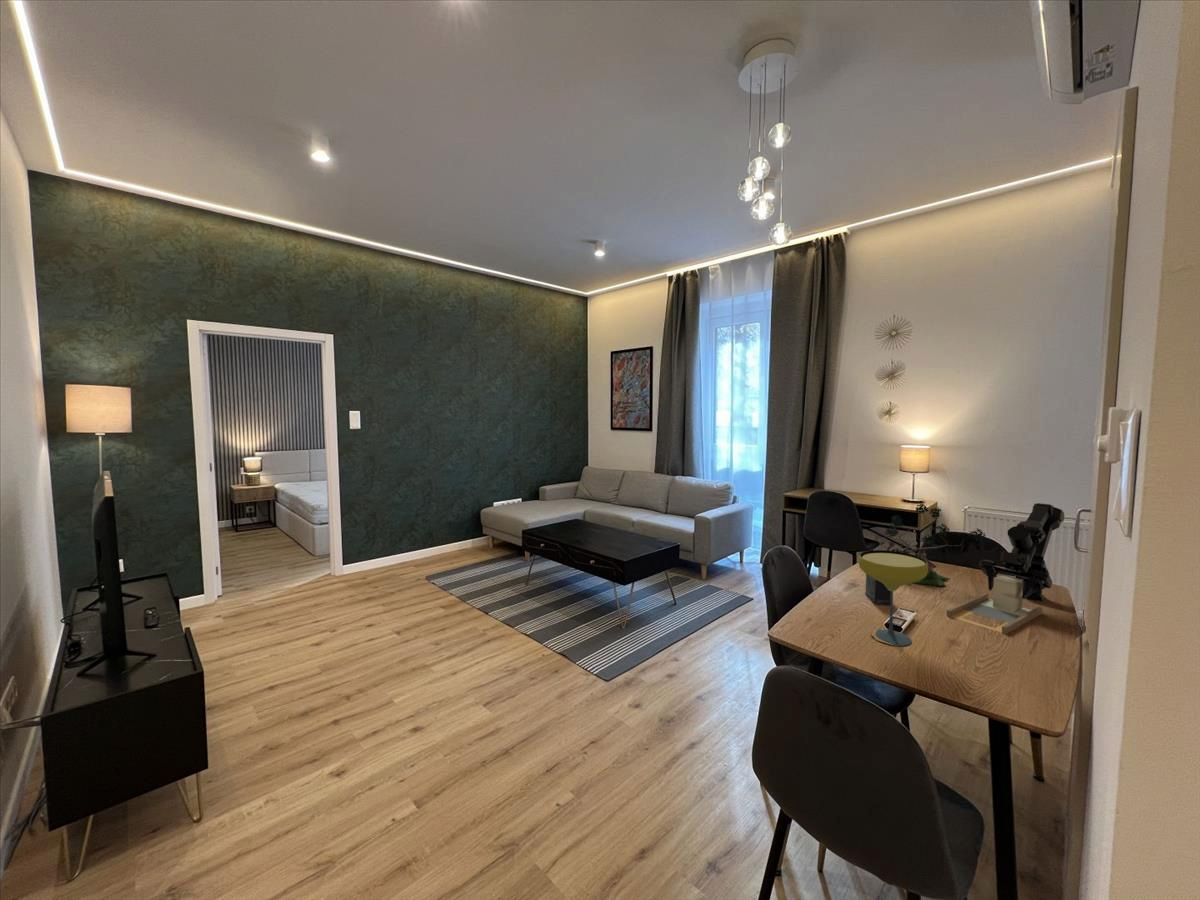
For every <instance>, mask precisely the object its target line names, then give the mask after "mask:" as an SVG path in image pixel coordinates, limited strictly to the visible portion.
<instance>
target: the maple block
mask: <svg viewBox="0 0 1200 900" xmlns="http://www.w3.org/2000/svg"><path fill="white" fill-rule="evenodd" d="M992 590H993V591H992V592H993V593H992V600H993V607H995V608H999V609H1003V610H1006V611H1010V612H1014V613H1015V612H1017V611H1019V610H1020V609H1022V608H1023V600H1024V599H1023V598H1022V595H1023V579H1018V578H1016V577H1015V576H1008V575H1004V574H1000V575H998V576H997V577H995V578H994V585H993V588H992Z"/></svg>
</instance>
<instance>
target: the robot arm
mask: <svg viewBox="0 0 1200 900" xmlns="http://www.w3.org/2000/svg"><path fill="white" fill-rule="evenodd" d="M1064 521H1065V512H1064V510H1062V509H1061V508H1058V507H1055V506H1054V505H1052V504H1050V503H1049V504H1048V503H1039V502H1037V503H1034V504H1033V506H1032V510H1031V513H1030V514H1029V516H1028V517H1027V519H1026V520H1025V521H1020V522H1019V523H1017V524H1016V526H1015V525H1014V526H1012V527H1010V528H1009V529H1008V530H1007V536H1008V539H1009V542H1010V545H1011V546H1012V550H1011V551H1001V554H1000V555H1001V556H1000V559H999V561H1001V562H1002V563H1001V564H1002V565H1003V566H1004V567H1003V566H999V565H997V563H996V561H993V560H988V559H982V560H980V561H979V564H978V566H979V568H980V570H981V571H982V573H983V574H985V575H986V576H987V581H988V583H987V584H988V585H987V586H988V590H989V591H990V592H991V591H992V590H993V585H994V578H995V577H998V576H999V575H998V574H999V573H1001V574H1006V575H1010V576H1012V577H1015V578H1018V579H1023V595H1022V598H1023V600H1025V599H1028V600H1033V601H1038V602H1039V601H1040V602H1043V601H1044V598H1045V595H1044V594H1043V590H1045V589H1051V588H1052V585H1053V580H1052V579H1051V576H1050V571H1049V569H1048V567H1047V565H1046V561H1045V559H1044V558H1045V555H1046V552H1047V548H1048V545H1049V542H1050V538H1051V536H1052V533H1053V531H1055V530H1057V529H1058V528H1060V526H1061V524H1062V523H1064ZM997 575H998V576H997Z"/></svg>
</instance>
